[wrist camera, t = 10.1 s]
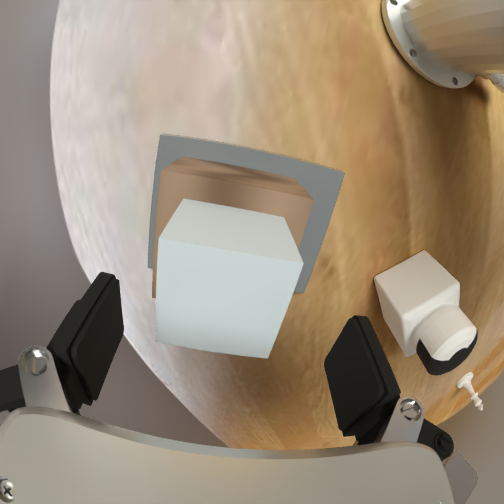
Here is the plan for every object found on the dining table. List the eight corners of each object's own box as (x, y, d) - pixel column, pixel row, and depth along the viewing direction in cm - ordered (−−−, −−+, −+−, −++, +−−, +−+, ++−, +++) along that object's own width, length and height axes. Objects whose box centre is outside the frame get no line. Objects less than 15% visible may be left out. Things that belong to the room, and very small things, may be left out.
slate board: (339, 170, 22) (344, 172, 21) (301, 286, 27) (303, 293, 26) (164, 133, 20) (160, 134, 19) (151, 261, 25) (147, 267, 24)
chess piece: (453, 388, 44) (469, 419, 35) (461, 376, 42) (479, 408, 33) (467, 381, 44) (484, 410, 35) (475, 369, 42) (493, 399, 33)
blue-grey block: (284, 217, 16) (303, 263, 11) (260, 298, 19) (267, 358, 14) (183, 198, 15) (158, 238, 11) (174, 283, 18) (155, 341, 13)
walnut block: (294, 178, 21) (313, 199, 16) (267, 274, 25) (275, 317, 20) (181, 156, 20) (161, 170, 15) (169, 257, 24) (152, 297, 19)
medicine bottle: (429, 292, 29) (479, 357, 19) (382, 318, 30) (424, 393, 20) (424, 247, 26) (490, 313, 15) (371, 276, 27) (425, 357, 17)
